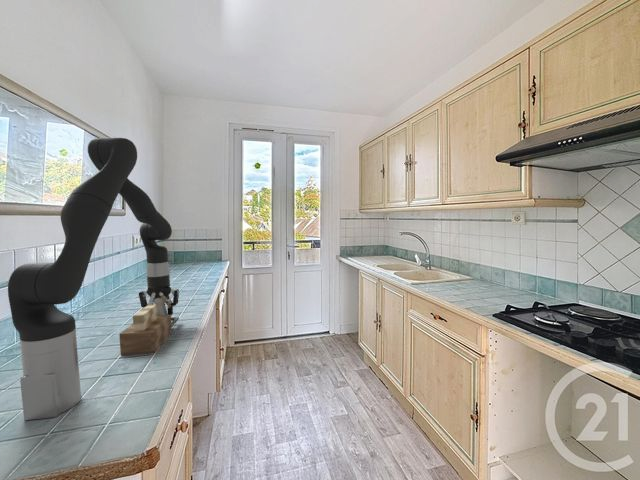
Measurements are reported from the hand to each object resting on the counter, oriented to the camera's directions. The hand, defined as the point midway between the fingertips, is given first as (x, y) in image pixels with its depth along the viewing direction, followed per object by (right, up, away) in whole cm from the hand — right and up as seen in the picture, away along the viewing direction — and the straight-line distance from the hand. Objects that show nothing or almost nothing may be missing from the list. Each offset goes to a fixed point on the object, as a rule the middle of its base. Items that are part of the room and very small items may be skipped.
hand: (160, 316), depth 112 cm
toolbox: (+2, -6, -12) cm, 14 cm away
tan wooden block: (+1, -4, -7) cm, 8 cm away
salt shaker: (0, -5, 0) cm, 5 cm away
